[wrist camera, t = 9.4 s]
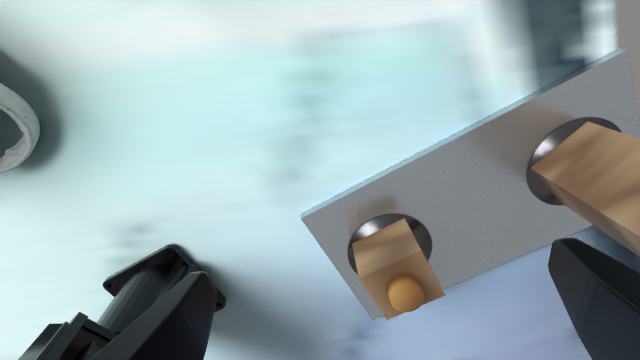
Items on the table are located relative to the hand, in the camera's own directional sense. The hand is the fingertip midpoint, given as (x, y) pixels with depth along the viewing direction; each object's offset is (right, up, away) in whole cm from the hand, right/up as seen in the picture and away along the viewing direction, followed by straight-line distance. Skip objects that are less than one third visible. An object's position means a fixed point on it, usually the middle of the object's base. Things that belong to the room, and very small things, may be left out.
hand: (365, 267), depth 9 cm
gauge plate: (+9, +1, +14) cm, 17 cm away
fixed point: (+4, -3, +14) cm, 15 cm away
